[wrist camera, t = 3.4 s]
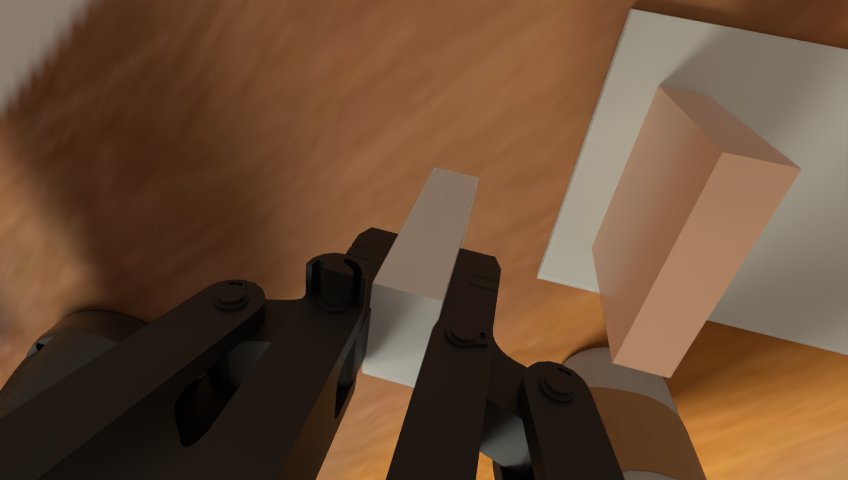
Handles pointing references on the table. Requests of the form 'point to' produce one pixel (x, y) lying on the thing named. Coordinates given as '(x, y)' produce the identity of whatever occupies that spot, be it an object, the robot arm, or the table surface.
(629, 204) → the tile
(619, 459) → the coffee cup
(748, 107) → the mat
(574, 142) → the table surface
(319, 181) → the table surface
